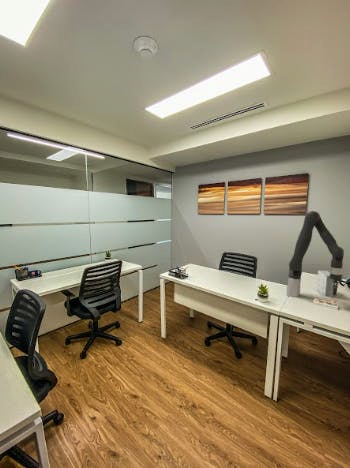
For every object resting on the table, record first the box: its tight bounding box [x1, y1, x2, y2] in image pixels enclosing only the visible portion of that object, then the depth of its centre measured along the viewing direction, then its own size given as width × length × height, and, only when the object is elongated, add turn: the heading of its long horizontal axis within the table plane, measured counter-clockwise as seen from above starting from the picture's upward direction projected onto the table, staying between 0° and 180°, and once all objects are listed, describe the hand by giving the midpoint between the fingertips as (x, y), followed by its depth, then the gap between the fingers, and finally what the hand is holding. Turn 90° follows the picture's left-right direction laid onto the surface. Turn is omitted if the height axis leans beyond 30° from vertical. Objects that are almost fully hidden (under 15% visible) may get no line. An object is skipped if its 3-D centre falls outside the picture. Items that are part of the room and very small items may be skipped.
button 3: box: [330, 299, 337, 306], centre depth 155 cm, size 3×3×3 cm
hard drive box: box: [316, 270, 336, 299], centre depth 180 cm, size 16×8×20 cm, turn 168°
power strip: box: [308, 298, 339, 311], centre depth 159 cm, size 18×7×3 cm, turn 51°
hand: (334, 293), depth 158 cm, fingers open, 8 cm apart
